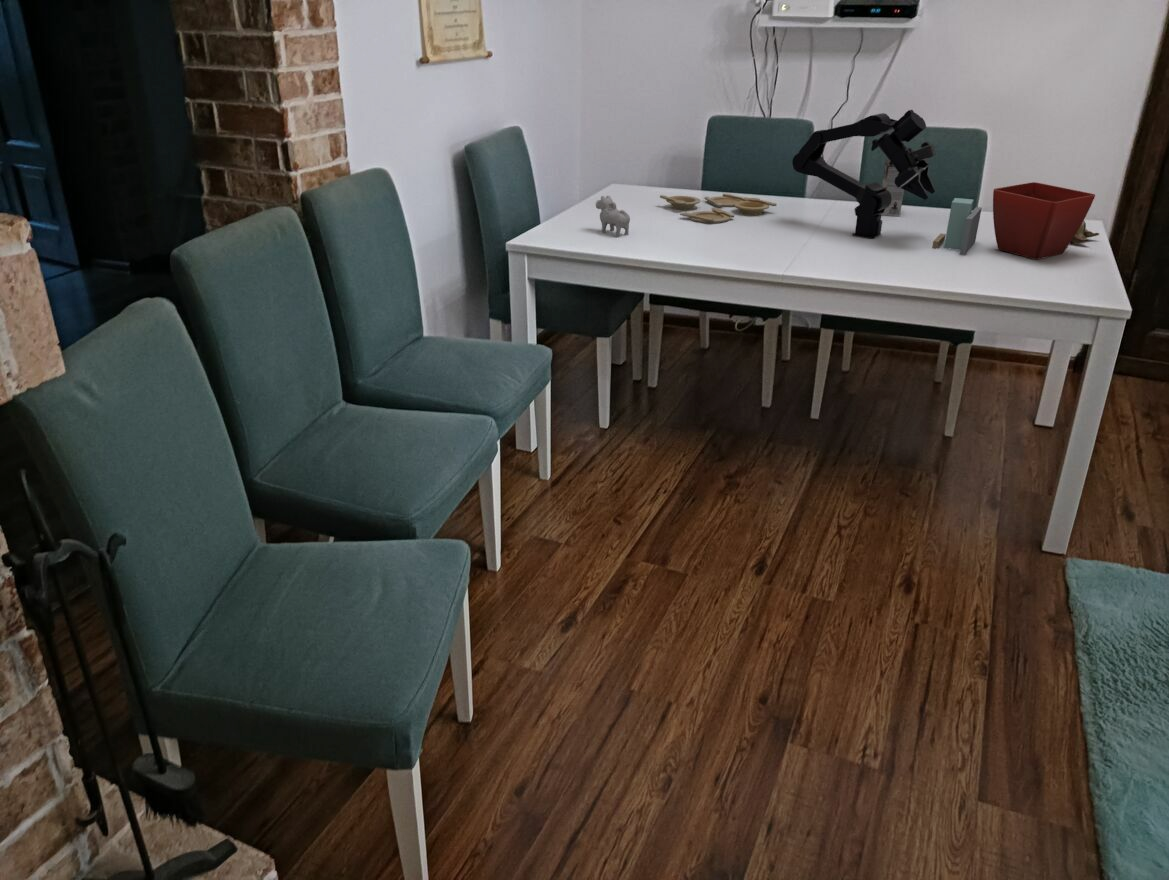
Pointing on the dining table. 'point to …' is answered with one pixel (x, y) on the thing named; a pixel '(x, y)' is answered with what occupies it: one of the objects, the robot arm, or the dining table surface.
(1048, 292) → the dining table surface
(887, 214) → the coffee box
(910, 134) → the robot arm
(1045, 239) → the plant pot
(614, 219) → the dog figurine
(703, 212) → the tableware set
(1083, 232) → the ceramic sculpture
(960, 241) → the cabinet box
